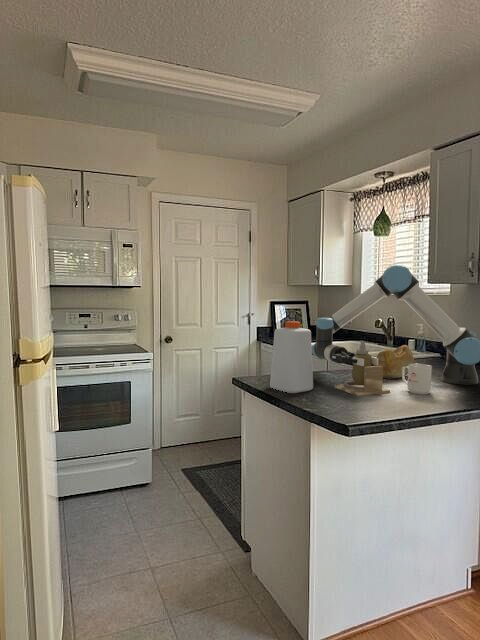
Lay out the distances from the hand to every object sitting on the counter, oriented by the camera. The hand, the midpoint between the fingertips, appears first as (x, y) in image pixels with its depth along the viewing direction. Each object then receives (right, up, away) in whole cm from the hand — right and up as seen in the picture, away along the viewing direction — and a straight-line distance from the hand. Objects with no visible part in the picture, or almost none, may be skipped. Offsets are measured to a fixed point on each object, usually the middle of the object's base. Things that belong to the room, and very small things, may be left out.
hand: (370, 362), depth 180 cm
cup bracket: (-2, -12, +6) cm, 13 cm away
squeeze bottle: (-2, -10, +5) cm, 11 cm away
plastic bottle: (-31, -12, +6) cm, 34 cm away
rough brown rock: (+21, -10, +38) cm, 44 cm away
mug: (+20, -13, +4) cm, 24 cm away
